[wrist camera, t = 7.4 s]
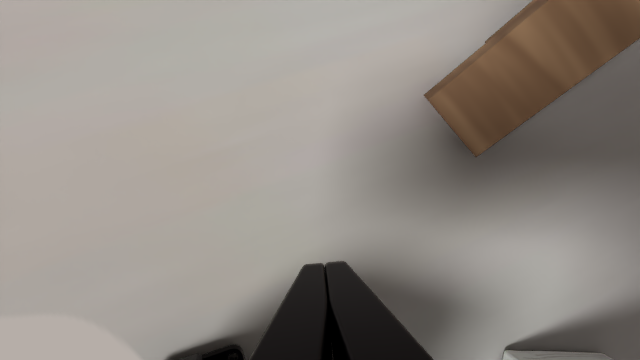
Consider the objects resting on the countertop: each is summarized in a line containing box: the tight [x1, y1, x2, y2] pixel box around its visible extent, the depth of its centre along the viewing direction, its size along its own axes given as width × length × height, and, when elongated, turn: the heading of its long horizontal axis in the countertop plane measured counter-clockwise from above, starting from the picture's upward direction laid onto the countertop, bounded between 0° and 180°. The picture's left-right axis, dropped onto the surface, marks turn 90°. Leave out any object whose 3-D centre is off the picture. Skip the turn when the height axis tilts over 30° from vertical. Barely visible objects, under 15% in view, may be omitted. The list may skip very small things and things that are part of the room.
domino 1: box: [424, 0, 640, 157], centre depth 19 cm, size 2×4×10 cm
